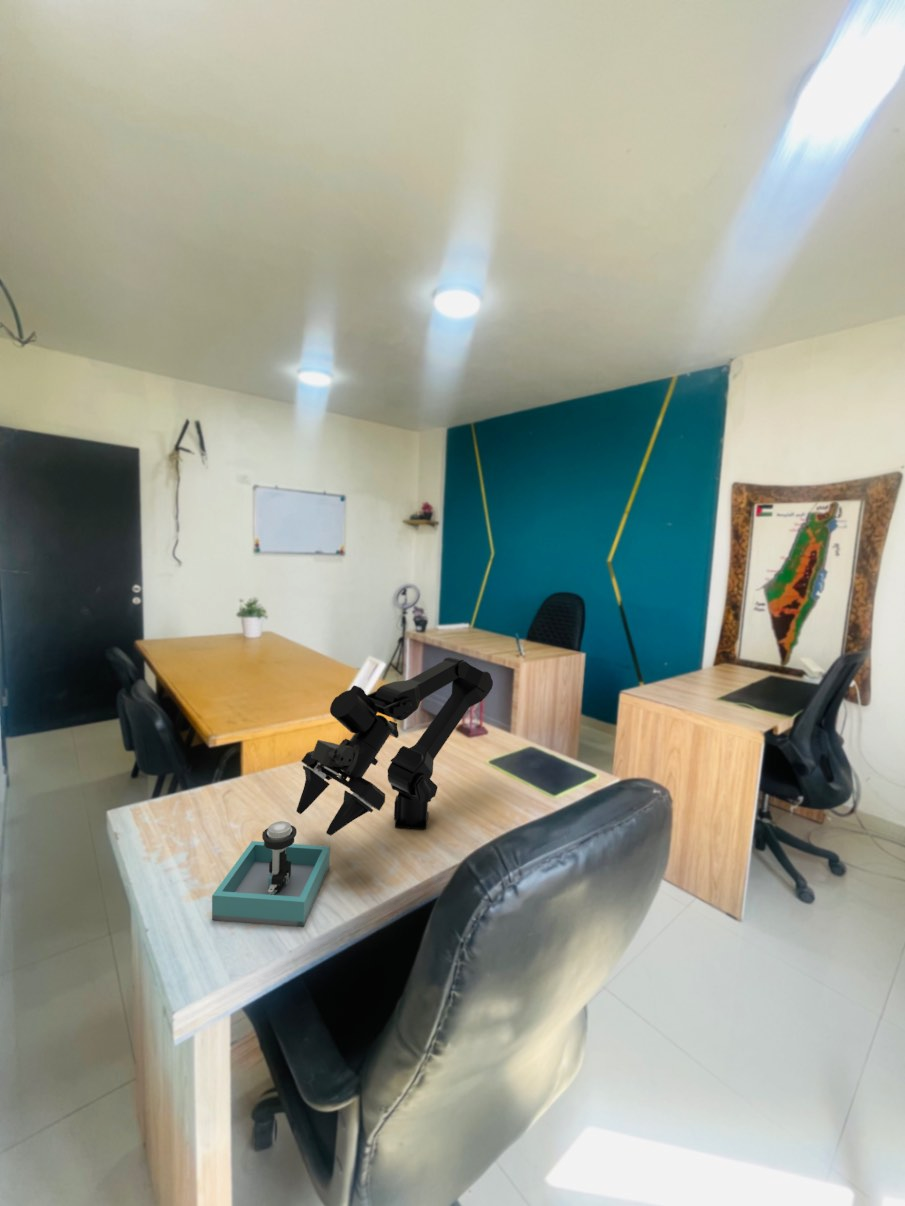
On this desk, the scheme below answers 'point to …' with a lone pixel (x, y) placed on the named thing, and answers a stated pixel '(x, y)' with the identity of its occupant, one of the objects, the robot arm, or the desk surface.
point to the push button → (279, 853)
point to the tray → (248, 886)
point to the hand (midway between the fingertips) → (312, 823)
